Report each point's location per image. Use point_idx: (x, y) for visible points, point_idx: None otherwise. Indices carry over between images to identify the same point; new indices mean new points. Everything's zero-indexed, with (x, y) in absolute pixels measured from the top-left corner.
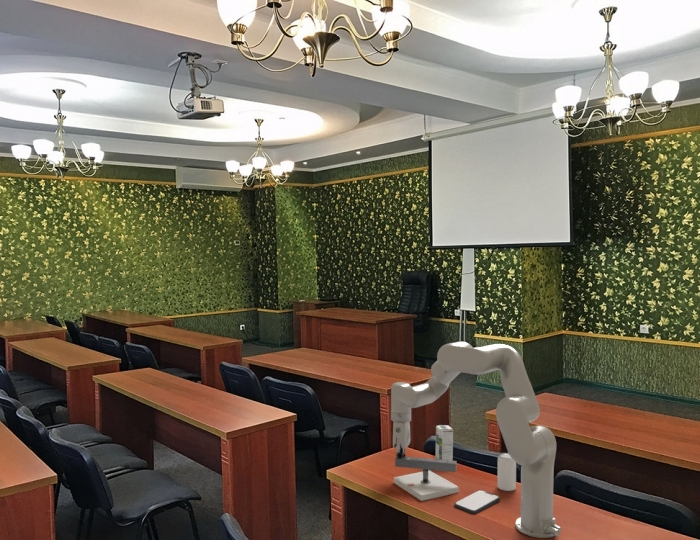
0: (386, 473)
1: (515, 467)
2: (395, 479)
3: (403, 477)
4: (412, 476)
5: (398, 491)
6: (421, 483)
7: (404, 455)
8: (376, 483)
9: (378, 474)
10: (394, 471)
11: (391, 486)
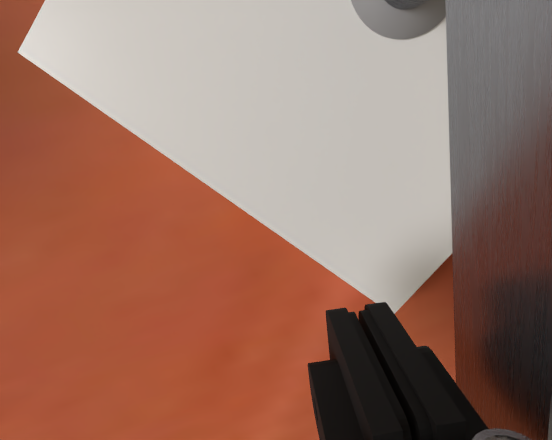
0: (218, 398)
1: None
2: (409, 290)
3: (364, 241)
4: (303, 171)
5: None
6: None
7: (461, 414)
8: None
9: (264, 433)
10: (147, 367)
11: (450, 280)
